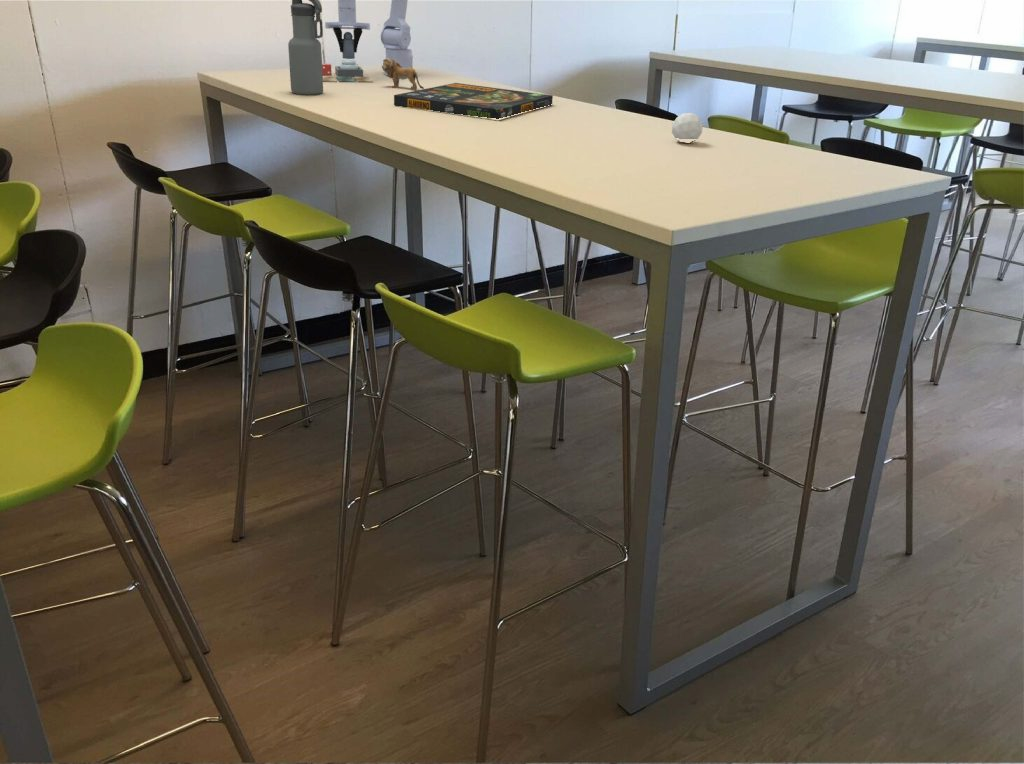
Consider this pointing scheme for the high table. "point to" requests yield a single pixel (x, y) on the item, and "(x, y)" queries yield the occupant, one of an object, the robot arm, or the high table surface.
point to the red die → (326, 69)
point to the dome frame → (348, 72)
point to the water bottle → (306, 49)
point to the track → (346, 79)
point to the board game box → (473, 100)
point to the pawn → (348, 46)
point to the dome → (349, 64)
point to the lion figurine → (400, 73)
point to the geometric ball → (687, 126)
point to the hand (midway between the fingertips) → (348, 52)
